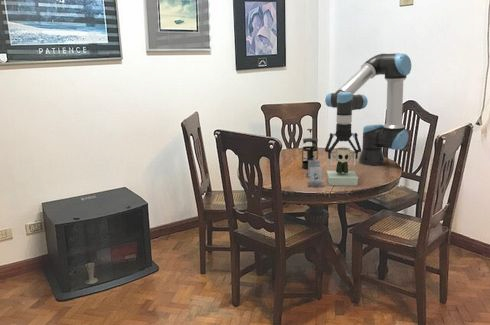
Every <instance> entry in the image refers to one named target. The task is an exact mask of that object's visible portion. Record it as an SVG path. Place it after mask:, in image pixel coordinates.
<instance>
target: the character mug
mask: <svg viewBox="0 0 490 325" xmlns="http://www.w3.org/2000/svg"><path fill="white" fill-rule="evenodd" d="M353 152H354V151H351V148H350V147H345V146H344V147H341V146H340V147H336V149H335V151H332V159H335V160H336V161H337V163H336V169H335V171H336V172H337V173H342V172H344V174H345V173H348V171H349V166H348V162H350V160H351V159H353V156H354V153H353ZM350 155H351V156H350Z"/></svg>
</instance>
